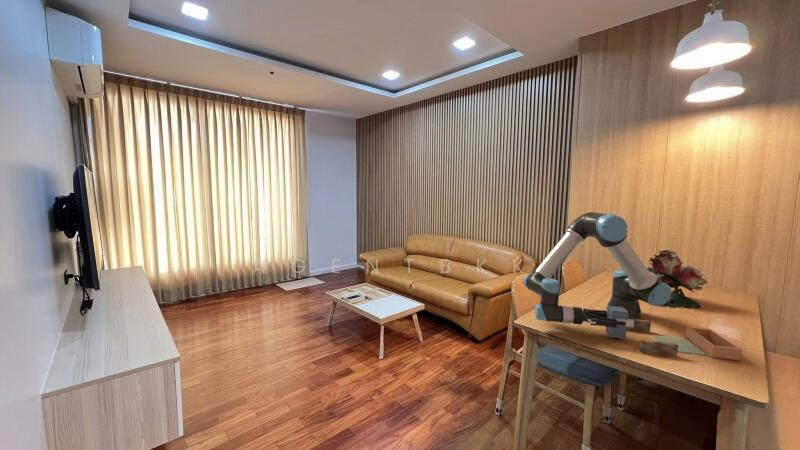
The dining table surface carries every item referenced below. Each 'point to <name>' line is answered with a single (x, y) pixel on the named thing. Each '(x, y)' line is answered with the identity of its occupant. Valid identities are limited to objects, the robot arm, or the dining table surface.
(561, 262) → the robot arm
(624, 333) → the tall block
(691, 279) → the rose bouquet
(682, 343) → the pad
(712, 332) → the tan open box
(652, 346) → the walled lane
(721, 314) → the dining table surface
